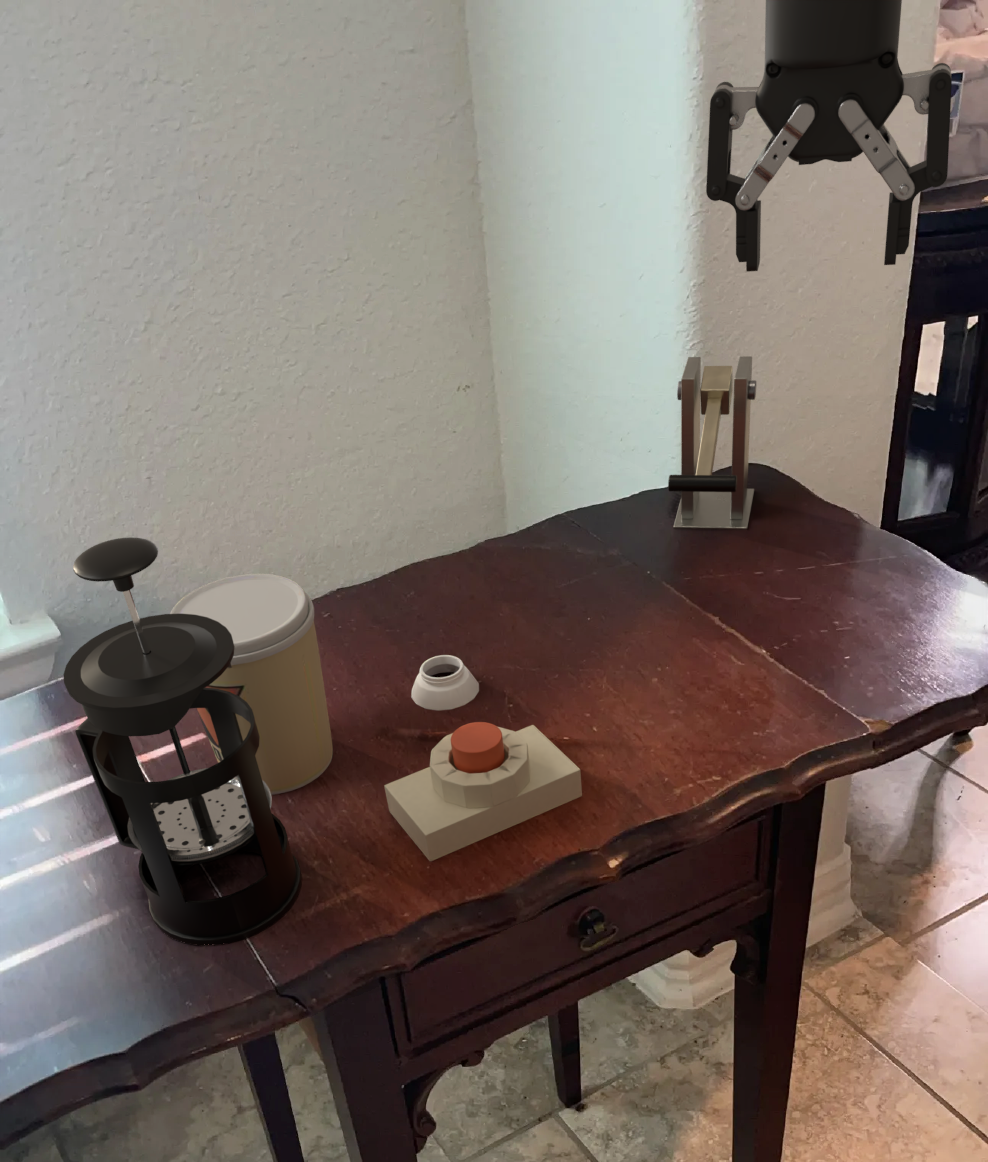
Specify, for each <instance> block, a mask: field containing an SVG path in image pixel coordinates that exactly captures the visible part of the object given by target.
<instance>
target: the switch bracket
mask: <svg viewBox="0 0 988 1162" xmlns="http://www.w3.org/2000/svg"><path fill="white" fill-rule="evenodd" d="M701 363H702V357H701V356H688V357H687V360H686V363H685V366H684V369H683V373H682V375H681V379H680V380H679V381H678V382H677V389H676V391H677V392H676V393H677V394H676V396H677V397H676V399H677V401H680V418H681V421H680V430H681V431H680V436H681V437H680V439H681V440H680V444H681V447H680V450H681V451H680V453H681V454H680V460H681V461H680V472H681V473H680V475H696V470H697V463H698V457H699V450H700V444H701V396H700V389H701V383H702V379H701V376H702V375H701V374H702V373H701V371H702V365H701ZM752 371H753V356H752V355H751V356H750V355H749V356H748V355H747V356H744V355H743V356H739V357H738V361H737V365H736V370H735V373H734V377H733V405H732V441H731V442H732V443H731V474H730V475H736V476H737V489H736V492H680V494H681V495H680V500H679V504H678V508H677V512H676V516H675V519H674V523H673V525H672V526H673V527H672V528H673V529H672V530H711V531H712V530H714V531H715V530H716V531H721V530H724V531H728V530H729V531H748V528H749V522H750V518H751V511H752V507H753V502H754V495H755V488H748V487H749V485H748V484H749V459H750V455H749V454H750V433H751V431H750V430H751V428H750V427H751V405H752V403H751V402H752V401H754V400H756V396H757V380H754V379H753V378H752V375H753V374H752V373H753V372H752ZM752 379H753V380H752Z"/></svg>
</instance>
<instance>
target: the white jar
mask: <svg viewBox="0 0 988 1162" xmlns="http://www.w3.org/2000/svg"><path fill="white" fill-rule="evenodd" d="M444 673H451V674H450V675H447V676H440V677H435V676H436V675H438V674H444ZM412 685H413V686H412V688H411V695H410V697H411V699H412V700H413V702H414V703H415V705H417V706H419V707H421V708H424V709H425V710H431V711H449V710H454V709H457V708H460V707H463V706H466V705H467V704H468V703H470V702H472V701H473V700H474V699H475V698H476V696H477V695H478V694H479V692H480V683H479V682H478V680H477V679H476V677H475V676H474V675H473V674H472V672H471V671H470V670H469V668H468V667H467V666H466V665H465V664H464V663H463V660H461V658H459V657H457V656H455V655H451V654H450V655H449V654H441V655H440V654H439V655H435V656H433V657H430V658H428V659H427V660H425V661H424V662H423V663H422V664H421V665H420V668H419V672H418V674H417V675H416V677H415V680H414V682H413V684H412Z"/></svg>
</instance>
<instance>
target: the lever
mask: <svg viewBox="0 0 988 1162" xmlns="http://www.w3.org/2000/svg"><path fill="white" fill-rule="evenodd" d="M733 369H734V367H733V365H704V366H703V371H702V379H701V384H700V415H701V416H704V419H703V426H702V432H701V437H700V450H699V457H698V463H697V470H696V475H681V474H669V475H668V482H667V489H668V492H673V493H675V492H677V493H678V492H680V493H681V492H736V489H737V476H736V475H731V474H713V471H714V463H715V459H716V452H717V445H718V444H717V443H718V436H719V430H720V425H721V418H722V417H721V416H723V415H724V416H727V415H730V411H731V405H732V399H733V398H732V397H733V392H734V377H733V376H734V375H733Z"/></svg>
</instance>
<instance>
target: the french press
mask: <svg viewBox="0 0 988 1162" xmlns="http://www.w3.org/2000/svg"><path fill="white" fill-rule="evenodd" d="M158 555H159V549H158V547H157V545H156V544H155V543H154V542H153V541H151V540H149V539H147V538H142V537H133V536H129V537H128V536H127V537H119V538H113V539H107V541H106V540H105V541H103V542H100V543H97V544H94V545H93V546H91V547H88V549H86V550H84V551H83V552H82V553H80V554H79V555H78V556H77V558H76V559H75V561H74V562H73V566H72V567H73V568H72V569H73V572H74V574H75V575H76V576H77V577H78V578H79V579H83V580H85V581H88V582H89V581H90V582H111V581H112V582H113V585H114V587H115V590H116V591H117V592H119V593H122V594H123V597H124V600H125V603H126V606H127V608H128V612H129V615H130V618H131V620H129V621H128V622H124V623H120V624H118V625H116V626H113V627H111V628H108V629H107V630H104V631H103V632H101V633H99V634H98V635H95V636H94V637H93V638H91V639H89V640H88V641H86V642H85V643H84V644H83V645H82V646H80V647H79V648H78V649H77V650H76V651H75V652H74V653H73V655H71V657H70V659H69V660H68V662H67V663H66V665H65V668H64V671H63V684H64V687H65V690H66V691H67V693H68V695H69V696H70V697H71V698H72V699H73V700H74V701H75V702H76V703H78V704H80V705H81V706H82V708H83V711H84V714H85V716H86V717H87V718H85V720H84V721H82V722H81V723H80V724H79V726H77V727H76V729H75V736H76V738H77V740H78V743H79V746H80V748H81V751H82V753H83V756H84V758H85V761H86V763H87V766H88V768H89V771H90V774H91V776H92V778H93V780H94V783H95V786H96V788H97V791H98V793H99V796H100V799H101V801H102V803H103V807H104V809H105V811H106V813H107V816H108V819H109V822H110V823H111V826H112V829H113V831H114V834H115V836H116V839H117V841H118V843H119V844H120V846H123V847H126V848H129V849H130V848H131V849H135V850H139V851H140V853H141V854H140V856H139V860H138V875H139V879H140V881H141V884H142V886H143V888H144V891H145V893H146V896H147V899H148V909H149V914H150V916H151V919H152V920H153V923H154V925H155V924H156V925H157V926H156V925H155V926H156V927H157V928H158V929H159V931H161V933H163V934H164V933H165V934H164V935H166V936H167V935H168V936H167V937H169V938H171V939H172V938H173V939H172V940H174V939H176V940H175V941H177V940H178V941H177V942H180V941H182V942H181V943H183V942H185V943H184V944H186V943H191V944H190V945H192V944H197V945H196V946H199V945H202V946H205V945H208V944H209V945H212V944H221V945H224V944H223V943H228V944H232V943H236V942H239V941H243V940H247V939H248V938H252V937H253V936H256V935H258V934H261V932H263V931H265V930H267V929H268V928H270V927H272V926H273V925H274V924H276V923H277V922H278V921H280V920H281V919H282V918H283V917H284V916H285V915H286V914H287V913H288V912H289V910H291V908H292V907H293V906H294V904H295V902H296V901H297V899H298V897H299V895H300V891H301V888H302V879H303V878H302V877H303V874H302V871H301V867H300V862H299V861H298V859H297V857H296V856H295V855H294V853H293V851H292V848H291V844H290V841H289V838H288V834H287V830H286V827H285V826H284V824H283V822H282V821H281V820H280V819H279V818H278V817H277V816H276V815H275V814H273V812H272V810H271V808H272V799H273V796H272V795H271V793H270V789H269V788H268V786H267V785H266V783H265V782H264V781H263V780H262V778H261V774H260V771H259V767H258V764H257V760H256V757H255V755H256V752H257V750H258V747H259V739H260V736H259V733H258V729H257V725H256V722H255V718H254V714H253V711H252V709H251V707H250V706H249V704H248V703H247V702H246V701H245V700H243V699H242V698H241V697H239V696H238V695H235V694H233V693H231V692H228V691H224V690H220V689H215V688H205V687H207V686H208V685H210V684H211V683H213V682H214V681H215V680H216V679H217V678H218V677H219V676H221V675H222V674H223V672H224V671H225V670H226V669H227V667H228V668H232V666H231V660H232V658H233V656H234V648H235V646H234V643H233V639H232V635H231V633H230V632H229V631H228V629H227V628H226V627H225V626H223V625H222V624H221V623H219V622H218V621H215V620H213V619H210V618H208V617H204V616H199V615H194V614H170V613H163V614H156V615H149V616H145V617H140V616H139V613H138V610H137V607H136V604H135V601H134V597H133V595H132V592H131V590H132V589H134V587H135V583H134V580H133V576H134V575H136V574H138V573H140V572H142V571H144V570H145V569H147V568H148V567H150V566H151V565H152V564H153V563H154V562H155V561H156V560H157V558H158ZM196 708H208V710H209V713H210V716H211V720H212V723H213V726H214V729H215V733H216V736H217V739H218V742H219V746H220V749H221V752H222V756H223V760H222V761H220V762H219V763H218V762H217V763H215V764H213V765H211V766H210V767H205V768H198V769H194V770H190V768H189V765H188V761H187V758H186V755H185V753H184V749H183V745H182V743H181V740H180V737H179V733H178V731H177V728H176V726H177V725H178V724H179V723H180V721H181V720H182V719H183V718H184V717H185V716H186V715H187V713H188V712H189V711H190V710H191V709H196ZM235 713H236V714H238V715H240V716H242V717H243V718H244V719H246V720H247V721H248V722H249V723H250V724H251V726H250V729H249V732H248V734H247V737H246V738H245V739H244V741H243V738H242V735H241V732H240V728H239V725H238V721H237V718H236V714H235ZM167 731H169V734H170V736H171V737H170V738H171V740H172V743H173V746H174V748H175V751H176V755H177V758H178V760H179V763H180V767H181V769H182V772H183V773H180V774H178V775H175V776H172V777H171V778H169V779H166V780H160V781H146V780H145V776H144V774H143V771H142V769H141V766H140V764H139V761H138V758H137V755H136V753H135V750H134V747H133V744H132V741H131V739H130V737H148V736H153V735H155V736H156V735H160V734H162V733H165V732H167ZM235 852H247V853H248V852H249V853H254V854H258V855H260V857H261V861H262V864H263V869H264V871H265V874H264V875H262V877H260V878H259V879H258V880H256V881H255V882H253V883H252V884H250V885H248V886H246V887H244V888H243V889H240V890H238V891H235V892H233V893H231V894H227V895H223V896H220V897H216V898H210V899H203V900H186V895H185V893H184V891H183V888H182V885H181V881H180V879H179V878H180V877H181V876H182V875H183V874H184V873H185V872H186V871H187V870H189V869H190V868H192V867H193V866H194V865H199V864H205V863H209V862H212V861H216V860H219V859H222V858H225V857H227V856H229V855H232V854H233V853H235ZM204 944H205V945H204Z"/></svg>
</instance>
